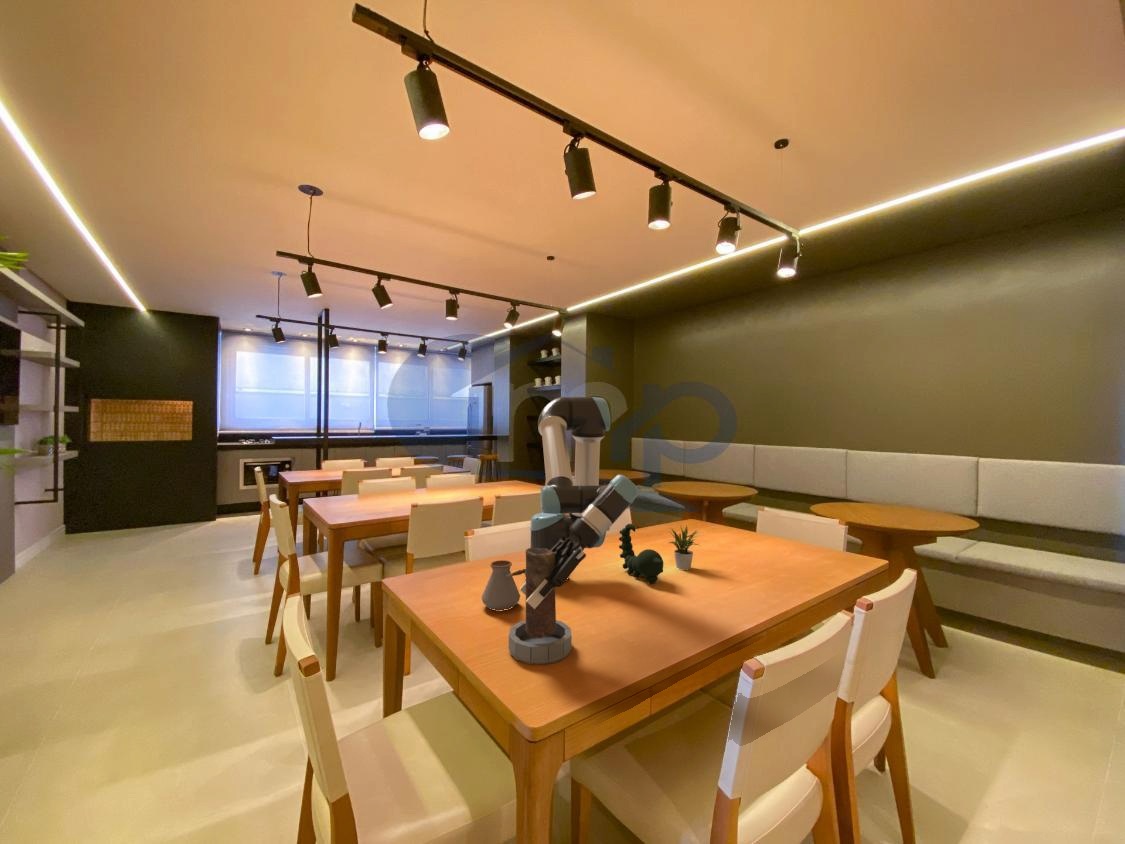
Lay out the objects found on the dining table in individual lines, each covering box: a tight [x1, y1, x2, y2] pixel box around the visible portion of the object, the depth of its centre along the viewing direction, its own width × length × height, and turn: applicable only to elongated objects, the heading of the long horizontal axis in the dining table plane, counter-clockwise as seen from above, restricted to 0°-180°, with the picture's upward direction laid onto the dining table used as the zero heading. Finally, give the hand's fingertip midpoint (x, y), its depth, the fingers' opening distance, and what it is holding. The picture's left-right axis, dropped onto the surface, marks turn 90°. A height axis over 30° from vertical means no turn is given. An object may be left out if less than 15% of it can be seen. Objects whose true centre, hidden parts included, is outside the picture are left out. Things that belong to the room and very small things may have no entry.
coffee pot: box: [481, 559, 526, 610], centre depth 130 cm, size 21×12×15 cm, turn 37°
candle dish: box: [508, 619, 573, 665], centre depth 108 cm, size 15×15×4 cm
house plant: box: [668, 525, 703, 571], centre depth 170 cm, size 14×14×16 cm
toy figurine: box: [618, 523, 664, 584], centre depth 160 cm, size 9×19×25 cm
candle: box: [525, 547, 557, 638], centre depth 108 cm, size 8×7×20 cm
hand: (526, 598), depth 107 cm, fingers closed on candle, 7 cm apart
